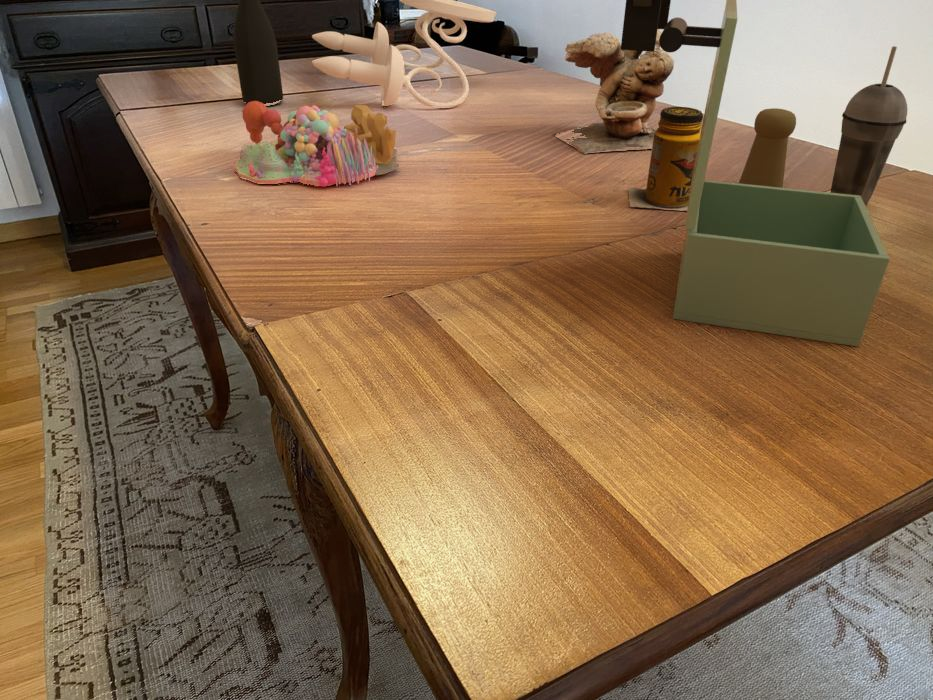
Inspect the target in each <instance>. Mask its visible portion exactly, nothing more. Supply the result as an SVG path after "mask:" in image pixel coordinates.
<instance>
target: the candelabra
mask: <svg viewBox="0 0 933 700" xmlns="http://www.w3.org/2000/svg"><path fill="white" fill-rule="evenodd" d="M398 1H399V2H400V3H401V4H404V5H405V6H406V5H407V6H408V7H412V8H414V9H418V10H421V11H425V13H422V14H421V15H420V16H419V17H418V18H417V19H416V20H415V23H414V29H415V32H416V33H417V34H418V35H419V37H421V38H422V39H423V40H424V41H425V43H426V44H427V45H428V47H430V49H432V51H434V53H435V54H437V56H439V57H440V58H439V59H438V60H437V61H436V62H433V63H426V64H419V63H418V64H417V63H411V62H417V61H419V60H420V59H421V58H422V52H421V50H420V49H419V48H418V47H416V46H414V45H410V44H404V43H403V44H398V45H393V44H390V39H389V33H388V30H387V28H386V27H385V26H384V25H383V24H382V23H381V22H379V21H377V22H376V24H375V27H374V32H373V37H372V39H371V38H368V37H367V38H366V37H361V36H358V35H357V36H356V35H352V34H347V33H344V34H343V33H341V32H338V31H331V30H329V31H321V32H317V33H314V34H312V35H311V38H312V39H313V40H314V41H316V42H317V43H319V44H320V45H321V46H323V47H325V48H327V49H330V50H334V51H341V50H342V52H344V53H350V54H355V55H360V56H366V57H370V62H367V61H363V60H358V59H352V58H351V59H350V60H349V59H348V58H346V57H343V56H338V55H337V56H336V55H331V56H324V57H320V58H316V59H313V60H311V64H312V65H313V66H314V67H315V68H316V69H318V70H319V71H321V72H323V73H325V74H326V75H328V76H330V77H333V78H336V79H348V81H353V82H358V83H365V84H370V85H374V86H375V85H376V86H381V93H380V101H381V100H383V101H384V105H383V106H388V105H391V106H393V105H394V104H396V102H397V101H398V99H399V97H400V95H401V93H402V90H403V87H406V89H407V91H408V92H409V94H410V95H411V96H412V97H413V98H414V99H415V100H416V101H418V102H419V103H421V104H422V105H424V106H426V107H428V106H450V105H458V104H460V105H462V104H463V103H464V102H465V101H466V100H467V98H468V95H469V93H470V85H469V81H468V78H467V76H466V74H465V73H464V71H463V69H462V68H461V66H460V65H459V64H458V63H457V62H456V61H455V60H454V59H453V58H452V57H451V56H449V54H447V53H446V52H445V51H444V49H443V48H442V47H441V45H439V43H437V42H436V40H434V39H433V38H432V37H431V36H430V34H429V30H428V29H429V25H430V23H431V22H432V21H433V20H434V19H435V20H434V21H433V22H432V25H431V29H432V31H433V32H434V33H436V34H439V36H440V38H441V39H442V40H444V42H447V43H451V44H459V43H461V42H463V41H464V40H465V38H466V36H467V32H468V29H467V25H466V22H465V21H471V22H478V23H493V22H494V20H495V17H496V16H497V12H496V11H494V10H492V9H488V8H485V7H481V6H478V5H474V4H470V3H466V2H462V1H459V0H398ZM440 18H442V19H444V20H450V21H452V22H453V23H454V24H455V25H454V26H453V27H451V28H443V26H445V25H446V22H442V23H440V21H441V20H440ZM463 20H465V21H463ZM438 23H440V25H439V27H437V26H436V24H438ZM421 24H422V25H421ZM459 30H461V33H460V34H459V35H458V36H450V35H453V34H455V33H457V32H458V31H459ZM403 50H404V51H411V52H414V53H415V54H417V56H415V57H410V58H409V60H410V62H407V61H405V60H404V58H403V57H404V56H403V54H402V52H401V51H403ZM444 62H446V63H447V64H448V65H449V66H450V67H452V69H453V70H454V71H455V72H456V74H457V75H458V77H459V79H460V80H461V84H462V88H463V90H462V93H461V95H460V96H459V97H458V98H456V99H454V100H452V101H449V102H448V101H447V102H437V101H433V100H431V99H429V98H426V97H424V96H423V95H421V94H420V93H418V92H417V91H416V90H415V88H414V87H413V85H412V83H411V80H412V78H413V76H415V75H416V74H419V73H424V74H428V75H430V76H432V77H433V78H435V79H436V80H437V83H438V88H436V89H431V91H430V94H436V93H438V92H439V91H440V90H441V87H442V78H441V77H440V75H439V74H438V73H437V72H436V71H435V70H433V69H436V68H438V67H440V66H442V65H443V64H444ZM406 67H417V68H414V69H410V71H408V73H407V74H405V68H406ZM429 68H433V69H429ZM461 103H462V104H461ZM392 104H393V105H392ZM458 106H459V105H458Z"/></svg>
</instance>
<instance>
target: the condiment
mask: <svg viewBox="0 0 933 700" xmlns="http://www.w3.org/2000/svg"><path fill="white" fill-rule="evenodd" d="M659 114H660V117H659V120H658V124H657V125H658V127H657V129H655V130H656V131H655V134H654V139H653V146H652V150H651V154H650V160H649V167H648V173H647V181H646V188H640V187H639V188H638V187H628V188H627V190H628V192H627V193H628V201H629V207H630V208H642V209H644V208H645V209H658V210H665V211H680V212H681V211H683V212H687V208H688V202H689V195H690V188H691V182H692V175H693V169H694V164H695V159H696V154H697V149H698V144H699V139H700V134H701V128H702V123H703V118H704V114H703V112H702V110H699V109H697V108H693V107H690V106H689V107H687V106H668V107H664V108H663V109H661V110H660V113H659Z"/></svg>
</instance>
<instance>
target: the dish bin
mask: <svg viewBox="0 0 933 700" xmlns="http://www.w3.org/2000/svg"><path fill="white" fill-rule="evenodd" d="M685 230H686V231H685V235H684V240H683V241H684V242H683V245H682V246H683V247H682V253H681V259H680V265H679V266H680V267H679V273H678V279H677V286H676V287H677V288H676V293H675V300H674V307H673V315H672V319H673V320H679V321H685V322H692V323H699V324H705V325H711V326H719V327H725V328H732V329H738V330H745V331H751V332H758V333H765V334H771V335H779V336H785V337H792V338H798V339H806V340H809V341H810V340H811V341H818V342H825V343H831V344H836V345H837V344H838V345H844V346H850V347H851V346H852V347H856V348H857V347H860V344H861V342H862V339H863V336H864V333H865V331H866V327H867V324H868V322H869V319H870V316H871V313H872V311H873V307H874V305H875V302H876V299H877V297H878V294H879V290H880V288H881V286H882V282H883V279H884V277H885V274H886V271H887V268H888V265H889V263H890V257H889V255H888V252H887V250H886V248H885V246H884V243H883V242H882V239H881V237H880V235H879V232H878V231H877V229H876V226H875V224H874V222H873V219H872V217H871V215H870V213H869V211H868V209H867V206H865V204H864V202H863V200H862V198H861V196H859V195H849V194H839V193H830V192H828V191H819V190H818V191H817V190H809V189H808V190H807V189H799V188H788V187H783V188H779V187H769V186H759V185H749V184H739V182H738V183H737V182H729V181H719V180H710V179H709V180H708V179H705V180H704V185H703V190H702V194H701V199H700V204H699V209H698V214H697V219H696V224H695V229H694V230H691V229H685Z"/></svg>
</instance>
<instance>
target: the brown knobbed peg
mask: <svg viewBox="0 0 933 700" xmlns="http://www.w3.org/2000/svg"><path fill="white" fill-rule="evenodd" d="M753 126H754V128H753V129H754V131H755V133H756V134H755V137H754V139H753V142H752V144H751V145H752V146H751V148H750V150H749V154H748V157H747V159H746V162H745V164H744V168H743V170H742V172H741V176H740V178H739V182H738V183H739V184H749V185H759V186H769V187H779V188H784V178H785V169H786V163H787V161H786V159H787V153H788V143H789V137H791V136H792V134H793V133H794V132H795V129H796V126H797V117H796V115H795V113H794V112H792V111H790V110H787V109H784V108H775V107H774V108H765V109H761V110H760V111H759V112H758V113H757V114H756V116H755V119H754V125H753Z"/></svg>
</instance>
